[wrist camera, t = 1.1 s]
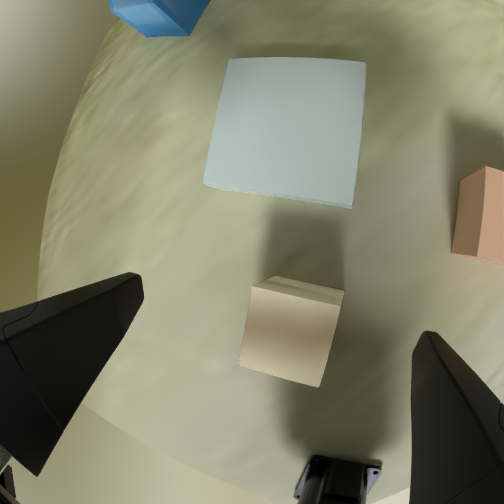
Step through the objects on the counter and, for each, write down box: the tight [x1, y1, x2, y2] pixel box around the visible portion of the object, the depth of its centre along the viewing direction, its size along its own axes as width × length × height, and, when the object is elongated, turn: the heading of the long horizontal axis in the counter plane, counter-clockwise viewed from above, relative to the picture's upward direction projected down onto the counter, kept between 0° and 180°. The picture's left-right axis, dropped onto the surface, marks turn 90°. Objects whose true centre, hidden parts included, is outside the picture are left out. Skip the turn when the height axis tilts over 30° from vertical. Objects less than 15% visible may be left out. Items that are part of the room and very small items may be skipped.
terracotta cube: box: [451, 166, 504, 265], centre depth 14 cm, size 5×5×5 cm
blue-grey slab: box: [203, 57, 366, 209], centre depth 20 cm, size 10×10×3 cm
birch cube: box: [239, 276, 345, 388], centre depth 19 cm, size 5×5×5 cm
